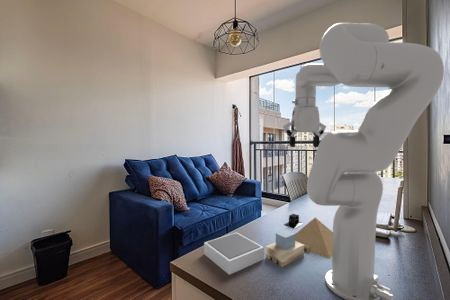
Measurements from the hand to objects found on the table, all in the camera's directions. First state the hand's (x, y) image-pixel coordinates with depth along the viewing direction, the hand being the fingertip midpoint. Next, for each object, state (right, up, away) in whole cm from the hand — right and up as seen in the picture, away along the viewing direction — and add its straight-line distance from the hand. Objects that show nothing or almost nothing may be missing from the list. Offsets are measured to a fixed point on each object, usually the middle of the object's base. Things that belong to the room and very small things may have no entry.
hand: (304, 146), depth 88 cm
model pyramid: (+2, -37, -5) cm, 37 cm away
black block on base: (0, -36, +14) cm, 38 cm away
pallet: (-12, -37, -15) cm, 41 cm away
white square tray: (-29, -37, -15) cm, 49 cm away
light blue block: (-12, -33, -15) cm, 38 cm away
